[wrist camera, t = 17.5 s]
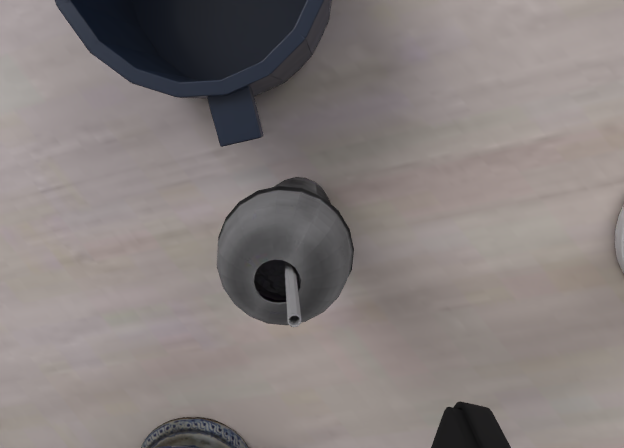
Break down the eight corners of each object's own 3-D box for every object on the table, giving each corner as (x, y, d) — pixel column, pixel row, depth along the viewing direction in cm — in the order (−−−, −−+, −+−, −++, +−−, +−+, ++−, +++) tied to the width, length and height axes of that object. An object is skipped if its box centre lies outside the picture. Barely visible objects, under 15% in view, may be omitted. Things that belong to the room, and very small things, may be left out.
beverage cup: (237, 179, 35) (123, 276, 16) (325, 144, 34) (321, 199, 15) (274, 263, 37) (213, 444, 17) (359, 231, 36) (396, 385, 16)
